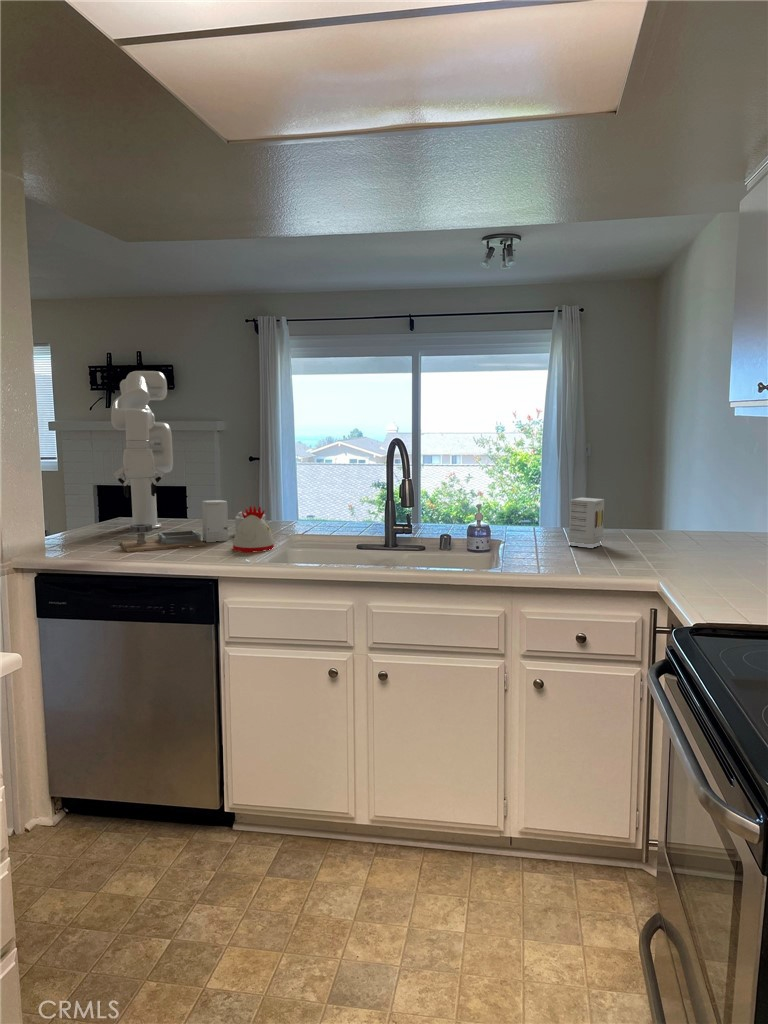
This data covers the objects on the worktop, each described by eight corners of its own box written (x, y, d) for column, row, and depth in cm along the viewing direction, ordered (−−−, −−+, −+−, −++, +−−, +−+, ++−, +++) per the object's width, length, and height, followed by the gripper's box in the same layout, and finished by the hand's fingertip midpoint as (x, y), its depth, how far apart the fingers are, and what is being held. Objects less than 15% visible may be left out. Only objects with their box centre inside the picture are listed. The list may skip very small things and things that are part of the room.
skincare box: (206, 542, 259) (204, 502, 257) (202, 540, 265) (200, 500, 262) (229, 541, 263) (227, 500, 261) (224, 538, 268) (223, 499, 266)
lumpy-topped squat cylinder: (268, 532, 283) (268, 510, 281) (255, 537, 270) (254, 515, 269) (244, 531, 285) (244, 509, 284) (229, 536, 273) (229, 514, 271)
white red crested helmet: (265, 553, 241) (264, 509, 239) (226, 551, 244) (225, 508, 242) (279, 545, 255) (278, 503, 253) (242, 544, 257) (241, 502, 255)
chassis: (120, 543, 258) (120, 531, 257) (194, 537, 269) (193, 526, 269) (126, 552, 242) (126, 539, 241) (204, 546, 253) (204, 533, 253)
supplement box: (592, 549, 248) (595, 501, 246) (567, 546, 254) (569, 499, 251) (602, 545, 256) (605, 498, 253) (578, 542, 261) (580, 496, 259)
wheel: (128, 530, 253) (128, 524, 253) (150, 528, 256) (149, 523, 256) (131, 533, 247) (131, 527, 247) (153, 531, 250) (153, 526, 250)
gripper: (162, 444, 252) (164, 494, 255) (109, 445, 245) (112, 496, 247) (166, 445, 246) (168, 496, 248) (112, 446, 238) (114, 498, 241)
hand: (140, 496), depth 248 cm, fingers open, 7 cm apart
